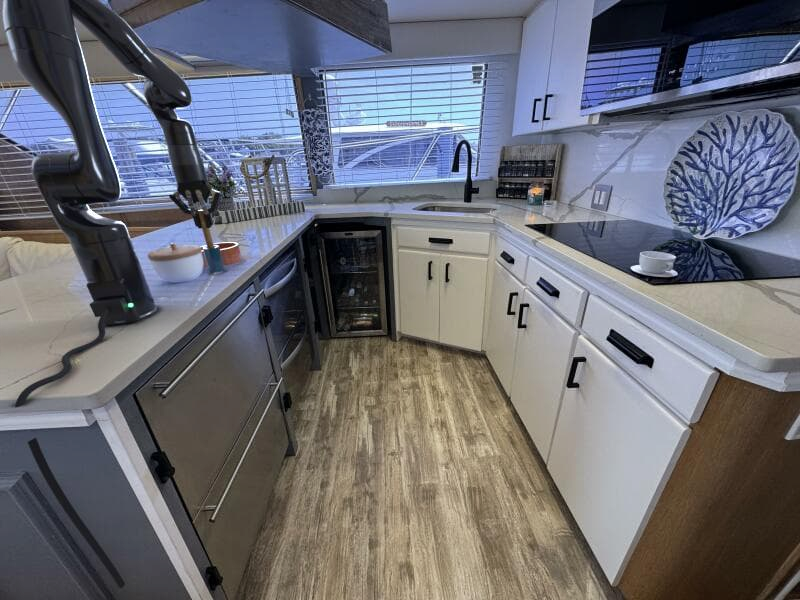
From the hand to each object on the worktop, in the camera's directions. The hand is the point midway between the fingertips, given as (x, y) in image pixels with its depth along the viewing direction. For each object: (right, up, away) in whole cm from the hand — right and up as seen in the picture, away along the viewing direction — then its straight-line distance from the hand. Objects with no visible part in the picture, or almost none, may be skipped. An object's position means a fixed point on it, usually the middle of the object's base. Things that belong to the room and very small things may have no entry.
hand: (205, 227), depth 94 cm
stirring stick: (0, -12, +5) cm, 13 cm away
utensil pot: (0, -13, +6) cm, 14 cm away
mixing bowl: (-3, -9, +14) cm, 17 cm away
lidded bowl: (-5, -16, -1) cm, 17 cm away
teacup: (+124, -14, -10) cm, 125 cm away
